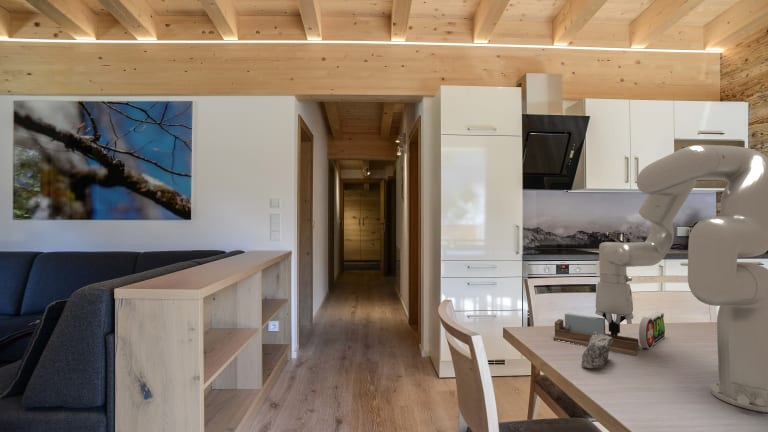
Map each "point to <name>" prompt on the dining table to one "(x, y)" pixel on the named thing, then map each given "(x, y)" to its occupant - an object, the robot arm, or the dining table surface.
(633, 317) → the robot arm
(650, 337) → the sign
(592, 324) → the panel
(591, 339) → the rock
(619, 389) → the dining table surface
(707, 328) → the dining table surface
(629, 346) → the rail
